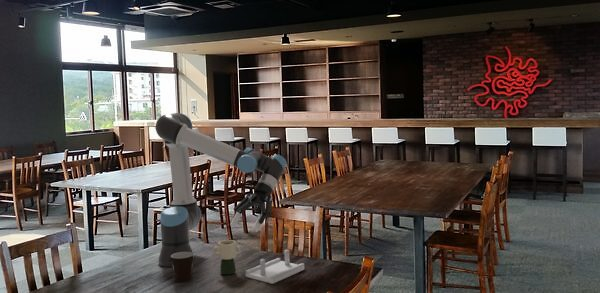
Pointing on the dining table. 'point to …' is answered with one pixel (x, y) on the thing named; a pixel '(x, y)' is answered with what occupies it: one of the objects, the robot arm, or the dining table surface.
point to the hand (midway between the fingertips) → (243, 228)
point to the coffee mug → (182, 266)
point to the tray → (274, 269)
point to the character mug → (227, 255)
